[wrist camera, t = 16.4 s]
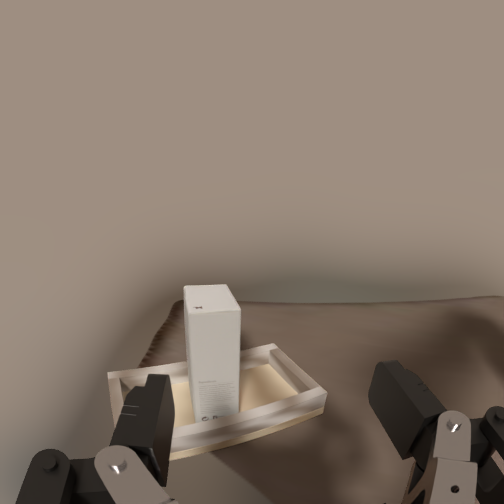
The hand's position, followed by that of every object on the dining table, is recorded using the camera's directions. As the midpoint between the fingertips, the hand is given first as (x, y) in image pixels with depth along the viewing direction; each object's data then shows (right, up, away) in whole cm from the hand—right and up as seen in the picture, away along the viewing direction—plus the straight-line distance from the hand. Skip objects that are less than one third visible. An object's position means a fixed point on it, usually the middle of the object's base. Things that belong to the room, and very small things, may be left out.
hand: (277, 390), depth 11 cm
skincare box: (-5, -10, +18) cm, 21 cm away
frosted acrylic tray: (-5, -11, +18) cm, 22 cm away
